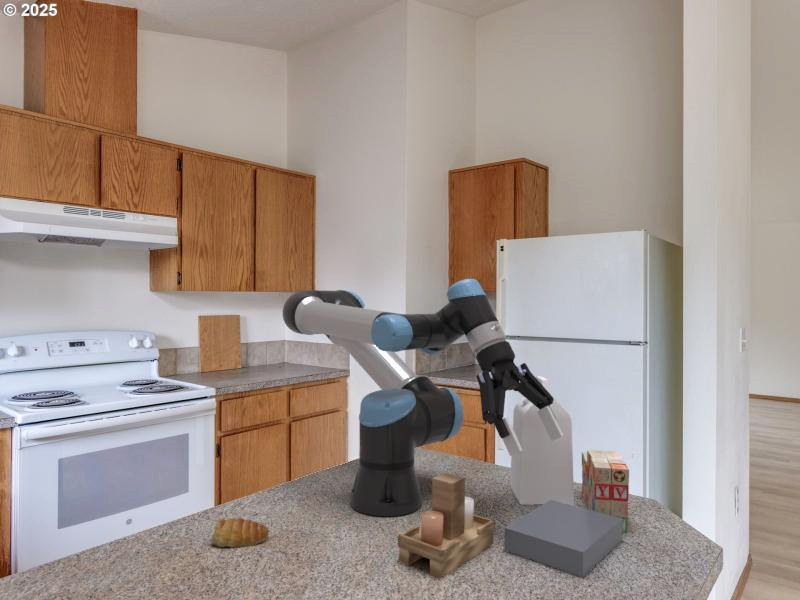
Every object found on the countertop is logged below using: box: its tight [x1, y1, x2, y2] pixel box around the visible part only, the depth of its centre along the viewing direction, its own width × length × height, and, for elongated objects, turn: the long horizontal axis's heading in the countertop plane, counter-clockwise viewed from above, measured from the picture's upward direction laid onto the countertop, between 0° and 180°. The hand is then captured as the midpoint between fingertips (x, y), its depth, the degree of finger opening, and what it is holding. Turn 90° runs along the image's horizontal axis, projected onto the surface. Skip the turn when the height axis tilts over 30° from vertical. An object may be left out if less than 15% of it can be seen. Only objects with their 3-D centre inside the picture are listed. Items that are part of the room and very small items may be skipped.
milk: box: [509, 375, 575, 506], centre depth 126 cm, size 12×12×26 cm
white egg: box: [464, 495, 475, 529], centre depth 100 cm, size 4×4×4 cm
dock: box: [503, 500, 623, 578], centre depth 100 cm, size 14×18×4 cm
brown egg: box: [420, 510, 443, 547], centre depth 93 cm, size 4×4×4 cm
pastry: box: [211, 517, 270, 548], centre depth 101 cm, size 9×7×4 cm
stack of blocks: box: [581, 449, 630, 534], centre depth 117 cm, size 21×6×12 cm, turn 168°
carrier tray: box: [397, 472, 496, 579], centre depth 97 cm, size 16×9×13 cm, turn 140°
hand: (537, 445), depth 109 cm, fingers open, 13 cm apart
